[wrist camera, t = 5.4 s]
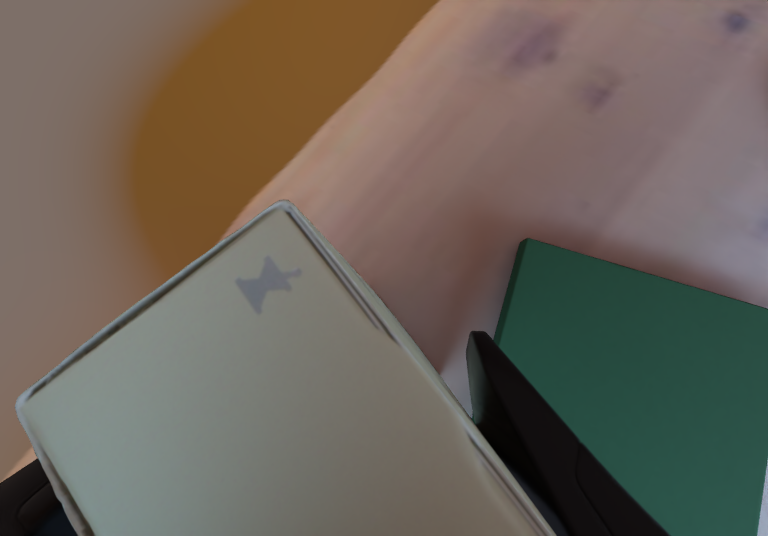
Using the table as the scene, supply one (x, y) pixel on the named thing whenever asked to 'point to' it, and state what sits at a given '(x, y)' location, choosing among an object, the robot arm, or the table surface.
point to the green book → (648, 382)
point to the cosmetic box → (266, 409)
